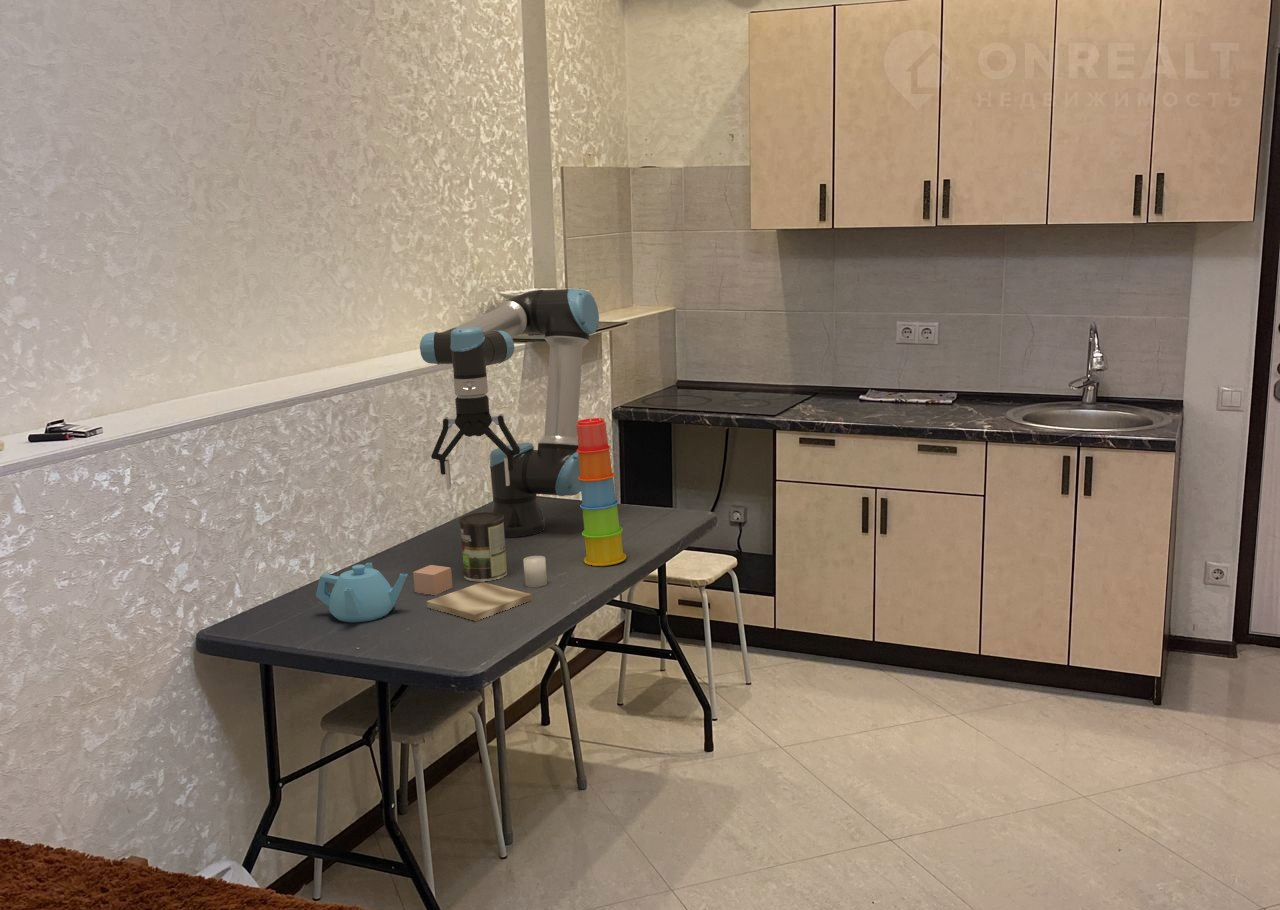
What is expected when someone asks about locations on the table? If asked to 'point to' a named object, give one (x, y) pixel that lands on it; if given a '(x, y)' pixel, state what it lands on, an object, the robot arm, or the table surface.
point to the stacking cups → (598, 495)
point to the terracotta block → (432, 579)
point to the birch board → (479, 601)
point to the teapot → (359, 594)
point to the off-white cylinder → (535, 571)
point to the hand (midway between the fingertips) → (478, 486)
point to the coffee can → (483, 546)
